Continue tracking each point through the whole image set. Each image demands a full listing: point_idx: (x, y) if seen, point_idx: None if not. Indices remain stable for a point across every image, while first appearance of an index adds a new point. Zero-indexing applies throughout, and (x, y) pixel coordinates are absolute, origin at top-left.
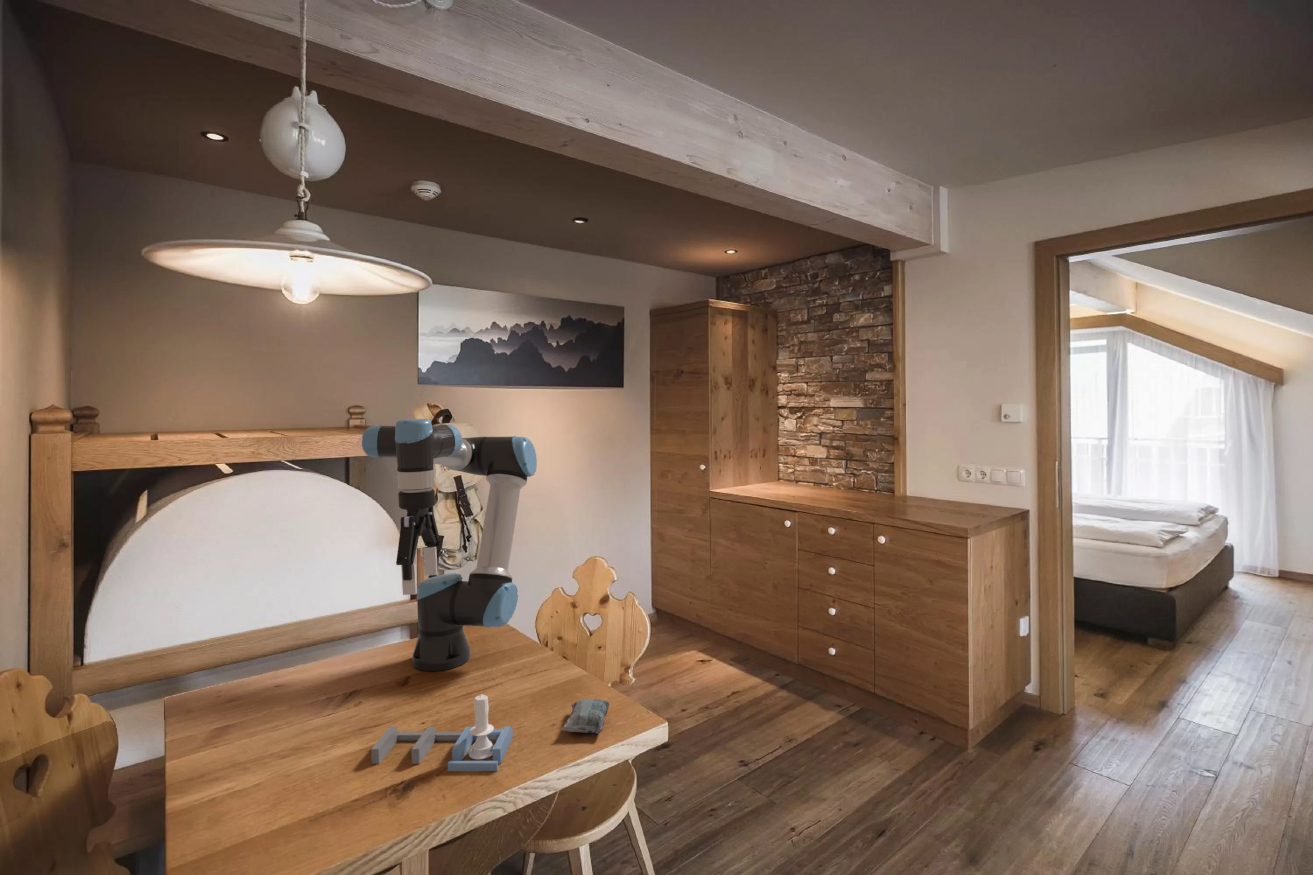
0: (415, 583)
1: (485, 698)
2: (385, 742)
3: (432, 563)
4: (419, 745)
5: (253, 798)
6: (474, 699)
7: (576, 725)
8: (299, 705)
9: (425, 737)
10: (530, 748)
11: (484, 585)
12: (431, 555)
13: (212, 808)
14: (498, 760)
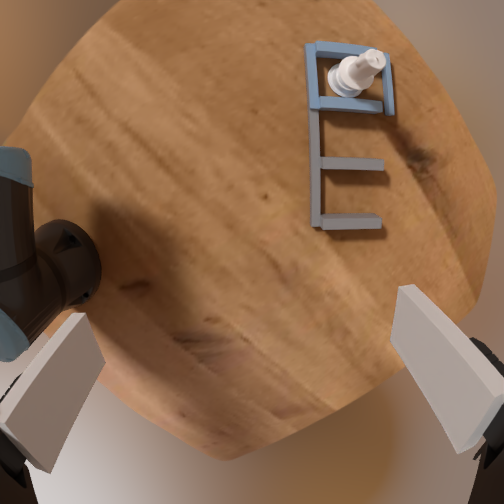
0: (440, 312)
1: (379, 51)
2: (361, 217)
3: (63, 368)
4: (375, 162)
5: None
6: (380, 70)
7: None
8: (225, 380)
9: (354, 160)
10: (330, 22)
11: None
12: (43, 405)
13: None
14: None
